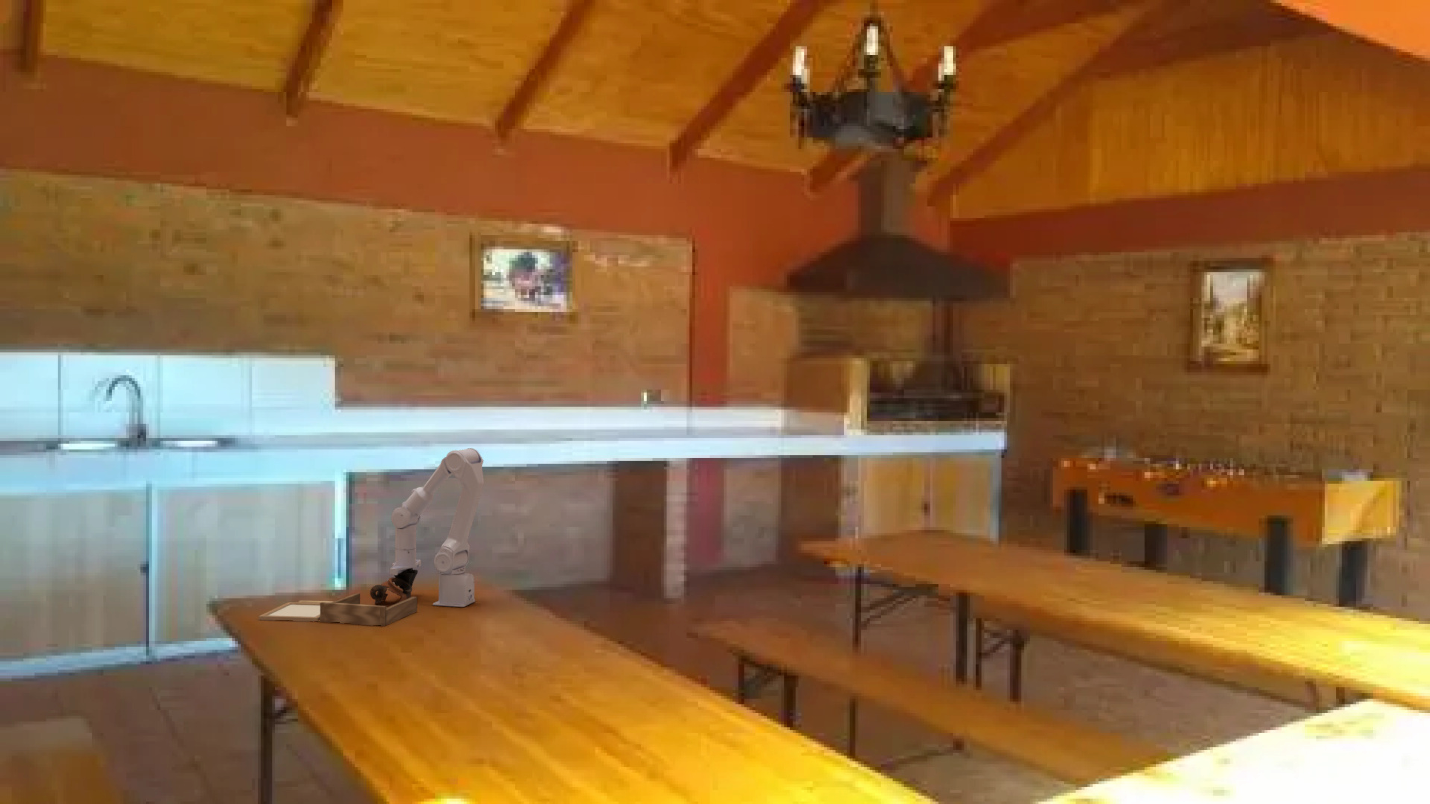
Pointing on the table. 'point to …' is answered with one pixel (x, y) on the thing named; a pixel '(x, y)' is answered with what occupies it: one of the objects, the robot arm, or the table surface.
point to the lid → (295, 611)
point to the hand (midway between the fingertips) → (405, 595)
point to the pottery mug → (393, 588)
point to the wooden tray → (365, 611)
